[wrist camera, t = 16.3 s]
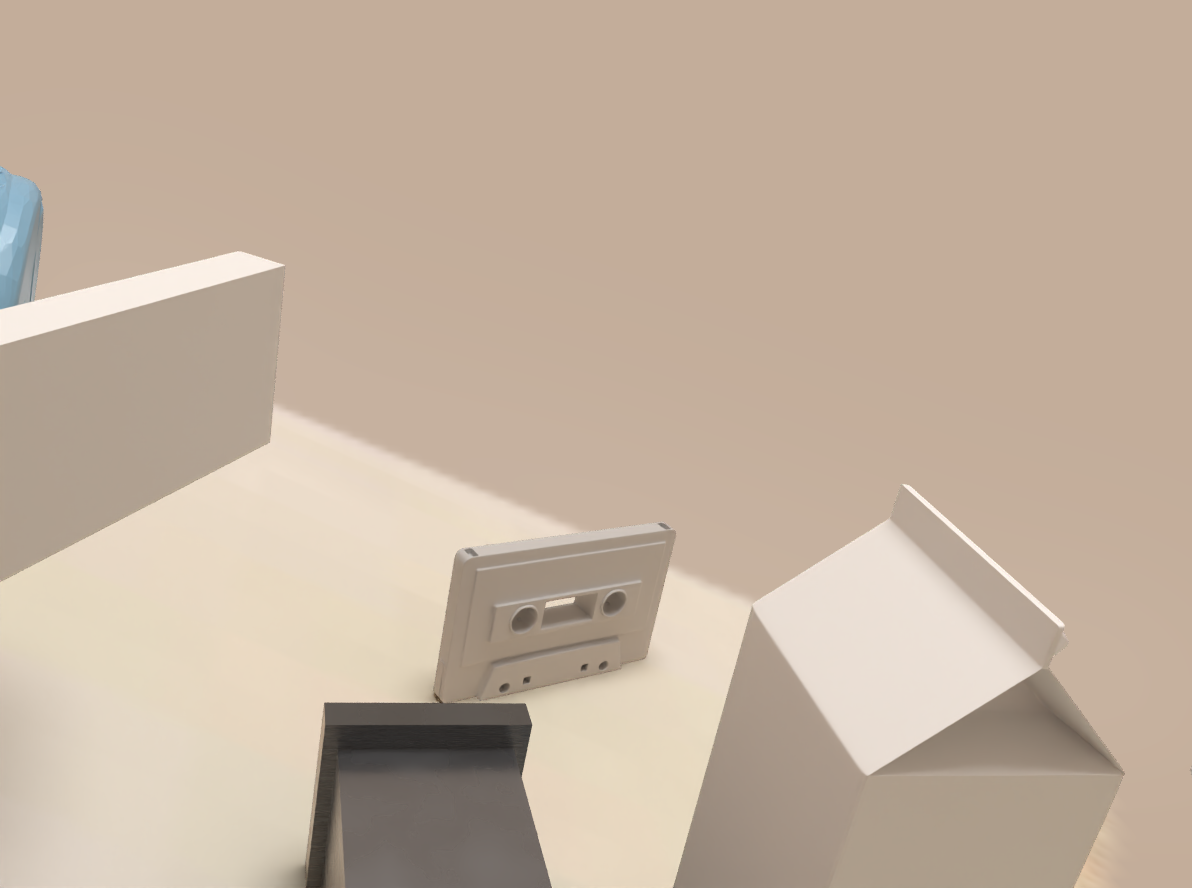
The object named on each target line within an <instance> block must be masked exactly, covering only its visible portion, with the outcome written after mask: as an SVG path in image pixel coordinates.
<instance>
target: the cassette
mask: <svg viewBox="0 0 1192 888" xmlns="http://www.w3.org/2000/svg"><path fill="white" fill-rule="evenodd" d="M675 537H676V531H675V530H674V529H672V528H671V527H670V526H669V525H667V524H666V523H665V522H657V523H649V524H642V525H634V526H627V527H619V528H612V529H604V530H597V531H589V532H582V533H574V534H567V535H559V536H552V537H544V538H537V539H529V540H522V541H514V542H507V543H500V544H492V545H485V546H477V547H470V548H462V549H460V550H459V551H458V552H457V553H456V555H455V559H454V565H453V571H452V578H451V584H450V590H449V596H448V602H447V609H446V615H445V621H444V627H443V634H442V640H441V646H440V652H439V659H438V665H437V671H436V677H435V684H434V692H435V694H436V695H437V696H438V697H439V698H440V700H441V701H442V702H443V703H450V702H454V701H459V700H463V699H468V698H473V697H476V698H478V699H479V700H480V701H482V700H487V699H491V698H495V697H500V696H504V695H509V694H513V693H517V692H522V691H526V690H531V689H535V688H539V687H544V686H548V685H552V684H557V683H561V682H566V681H570V680H574V679H579V678H583V677H588V676H592V675H596V674H601V673H605V672H610V671H614V670H618V669H621V664H624V663H628V662H632V661H637V660H641V659H644V658H645V657H646V655H647V652H648V648H649V644H650V640H651V636H652V631H653V627H654V623H655V619H656V615H657V611H658V607H659V603H660V599H661V594H662V590H663V586H664V582H665V578H666V574H667V570H668V566H669V562H670V557H671V553H672V549H673V545H674V541H675ZM571 597H575V601H574V603H570V604H565V605H559V606H553V607H548V608H545V605H546V602H549V601H553V600H559V599H565V598H571Z"/></svg>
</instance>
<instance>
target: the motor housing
mask: <svg viewBox="0 0 1192 888" xmlns="http://www.w3.org/2000/svg"><path fill="white" fill-rule="evenodd" d="M531 728H532V723H531V720H530V716H529V713H528V710H527V707H526V704H495V703H324V710H323V718H322V727H321V735H320V744H319V752H318V761H317V769H316V778H315V786H314V795H313V803H312V812H311V820H310V829H309V838H308V846H307V855H306V888H552V887H551V883H550V880H549V876H548V872H547V869H546V865H545V861H544V858H543V854H542V850H541V847H540V843H539V840H538V836H537V832H536V829H535V825H534V821H533V818H532V814H531V810H530V807H529V803H528V799H527V796H526V792H525V789H524V785H523V781H522V778H521V777H522V772H523V767H524V762H525V757H526V752H527V747H528V743H529V738H530V733H531Z"/></svg>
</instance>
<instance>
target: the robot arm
mask: <svg viewBox="0 0 1192 888" xmlns="http://www.w3.org/2000/svg"><path fill="white" fill-rule="evenodd" d="M42 229H43V206H42V196H41V191H40V190H39V189H38V187H37V186H36V184H35V183H34V182H32V181H30V180H29V179H27V178H24V177H21V176H17V175H12V174H10V173H9V172H8V171H7V170H6V169H4V168H3V167H1V166H0V582H1V581H3V580H5V579H7V578H9V577H11V576H13V575H15V574H17V573H19V572H20V571H22V570H24V569H26V568H28V567H30V566H32V565H34V564H36V563H38V562H40V561H42V560H44V559H46V558H47V557H49V556H51V555H53V554H55V553H57V552H59V551H61V550H63V549H65V548H67V547H69V546H71V545H73V544H75V543H76V542H78V541H80V540H82V539H84V538H86V537H88V536H90V535H92V534H94V533H96V532H98V531H100V530H102V529H104V528H105V527H107V526H109V525H111V524H113V523H115V522H117V521H119V520H121V519H123V518H125V517H127V516H129V515H131V514H132V513H134V512H136V511H138V510H140V509H142V508H144V507H146V506H148V505H150V504H152V503H154V502H156V501H158V500H160V499H161V498H163V497H165V496H167V495H169V494H171V493H173V492H175V491H177V490H179V489H181V488H183V487H185V486H187V485H189V484H190V483H192V482H194V481H196V480H198V479H200V478H202V477H204V476H206V475H208V474H210V473H212V472H214V471H216V470H217V469H219V468H221V467H223V466H225V465H227V464H229V463H231V462H233V461H235V460H237V459H239V458H241V457H243V456H245V455H246V454H248V453H250V452H252V451H254V450H256V449H258V448H260V447H262V446H264V445H266V444H268V443H270V435H271V424H272V412H273V401H274V390H275V378H276V366H277V355H278V344H279V332H280V321H281V310H282V298H283V287H284V276H285V265H283V264H280V263H276V262H273V261H270V260H266V259H263V258H260V257H257V256H254V255H250V254H247V253H244V252H241V251H238V252H234V253H230V254H226V255H221V256H217V257H213V258H209V259H205V260H201V261H197V262H193V263H189V264H185V265H181V266H176V267H172V268H168V269H164V270H160V271H156V272H152V273H148V274H144V275H139V276H135V277H131V278H127V279H123V280H119V281H115V282H111V283H107V284H103V285H98V286H95V287H90V288H87V289H82V290H78V291H74V292H70V293H66V294H62V295H58V296H53V297H49V298H45V299H41V300H37V301H34V298H35V290H36V283H37V275H38V267H39V260H40V251H41V241H42ZM1190 771H1191V775H1192V767H1191V769H1190Z"/></svg>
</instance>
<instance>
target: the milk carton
mask: <svg viewBox="0 0 1192 888" xmlns="http://www.w3.org/2000/svg"><path fill="white" fill-rule="evenodd" d="M1063 630H1064V623H1063V622H1062V621H1060V620H1059V619H1058V618H1057V617H1056V616H1055V615H1054V614H1052V613H1051V612H1050V611H1049V610H1048V609H1047V608H1046V607H1045V606H1044V605H1042V604H1041V603H1040V602H1039V601H1038V600H1037V599H1036V598H1035V597H1034V596H1032V595H1031V594H1030V593H1029V592H1028V591H1027V590H1026V589H1025V588H1023V587H1022V586H1021V585H1020V584H1019V583H1018V582H1017V581H1016V580H1015V579H1013V578H1012V577H1011V576H1010V575H1009V574H1008V573H1007V572H1006V571H1005V570H1003V569H1002V568H1001V567H1000V566H999V565H998V564H997V563H995V562H994V561H993V560H992V559H991V558H990V557H989V556H988V555H987V554H985V553H984V552H983V551H982V550H981V549H980V548H979V547H978V546H977V545H975V544H974V543H973V542H972V541H971V540H970V539H969V538H967V537H966V536H965V535H964V534H963V533H962V532H961V531H960V530H958V528H956V527H955V526H954V525H953V524H952V523H951V522H950V521H949V520H947V519H946V518H945V517H944V516H943V515H942V514H941V513H940V512H938V511H937V510H936V509H935V508H934V507H933V506H932V505H931V504H929V503H928V502H927V501H926V500H925V499H924V498H923V497H922V496H921V495H919V494H918V493H917V492H916V491H915V490H914V489H913V488H912V487H910V486H909V485H904V484H901V486H900V489H899V492H898V495H897V498H896V501H895V505H894V508H893V511H892V514H891V517H890V518H889V519H888V520H886V521H885V522H883V523H881V524H880V525H878V526H877V527H875V528H873V529H872V530H870V531H868V532H867V533H865V534H864V535H862V536H860V537H859V538H857V539H856V540H854V541H853V542H851V543H849V544H848V545H846V546H844V547H843V548H841V549H840V550H838V551H836V552H835V553H833V554H832V555H830V556H828V557H827V558H825V559H823V560H822V561H820V562H819V563H817V564H815V565H814V566H812V567H811V568H809V569H807V570H806V571H804V572H803V573H801V574H799V575H798V576H796V577H795V578H793V579H791V580H790V581H788V582H787V583H785V584H783V585H782V586H780V587H778V588H777V589H775V590H774V591H772V592H770V593H769V594H767V595H766V596H764V597H762V598H761V599H759V600H758V601H756V602H755V603H753V604H752V608H751V612H750V616H749V619H748V623H747V627H746V630H745V634H744V637H743V641H742V644H741V648H740V651H739V655H738V659H737V662H736V666H735V669H734V673H733V676H732V680H731V684H730V687H729V691H728V694H727V698H726V701H725V705H724V708H723V712H722V716H721V719H720V723H719V726H718V730H717V733H716V737H715V741H714V744H713V748H712V751H711V755H710V758H709V762H708V766H707V769H706V773H705V776H704V780H703V783H702V787H701V790H700V794H699V798H698V801H697V805H696V808H695V812H694V815H693V819H692V823H691V826H690V830H689V833H688V837H687V840H686V844H685V847H684V851H683V855H682V858H681V862H680V865H679V869H678V872H677V876H676V880H675V883H674V887H673V888H1074V886H1075V883H1076V881H1077V879H1078V877H1079V875H1080V873H1081V870H1082V868H1083V866H1084V864H1085V862H1086V859H1087V857H1088V855H1089V853H1090V851H1091V848H1092V846H1093V844H1094V842H1095V840H1096V838H1097V835H1098V833H1099V831H1100V829H1101V827H1102V824H1103V822H1104V820H1105V818H1106V816H1107V813H1108V811H1109V809H1110V807H1111V804H1112V802H1113V800H1114V798H1115V795H1116V793H1117V791H1118V789H1119V786H1120V784H1121V781H1122V779H1123V776H1124V774H1125V773H1124V771H1123V769H1122V768H1121V766H1120V765H1119V763H1118V762H1117V761H1116V759H1115V758H1114V756H1113V755H1112V754H1111V752H1110V751H1109V750H1108V748H1107V747H1106V746H1105V744H1104V743H1103V741H1102V740H1101V739H1100V737H1099V736H1098V735H1097V733H1096V732H1095V730H1094V729H1093V728H1092V726H1091V725H1090V724H1089V722H1088V721H1087V719H1086V718H1085V717H1084V715H1083V714H1082V713H1081V711H1080V710H1079V708H1078V707H1077V706H1076V704H1075V703H1074V702H1073V700H1072V699H1071V697H1070V696H1069V695H1068V693H1067V692H1066V691H1065V689H1064V688H1063V686H1062V685H1061V684H1060V682H1059V681H1058V680H1057V678H1056V677H1055V675H1054V674H1053V673H1052V671H1051V670H1050V668H1049V665H1050V662H1051V660H1052V658H1053V656H1054V655H1056V654H1058V653H1059V652H1060V651H1061V650H1063V649H1064V648H1065V647H1066V646H1067V645H1068V640H1067V637H1066V635H1065V633H1064V632H1063Z"/></svg>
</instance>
